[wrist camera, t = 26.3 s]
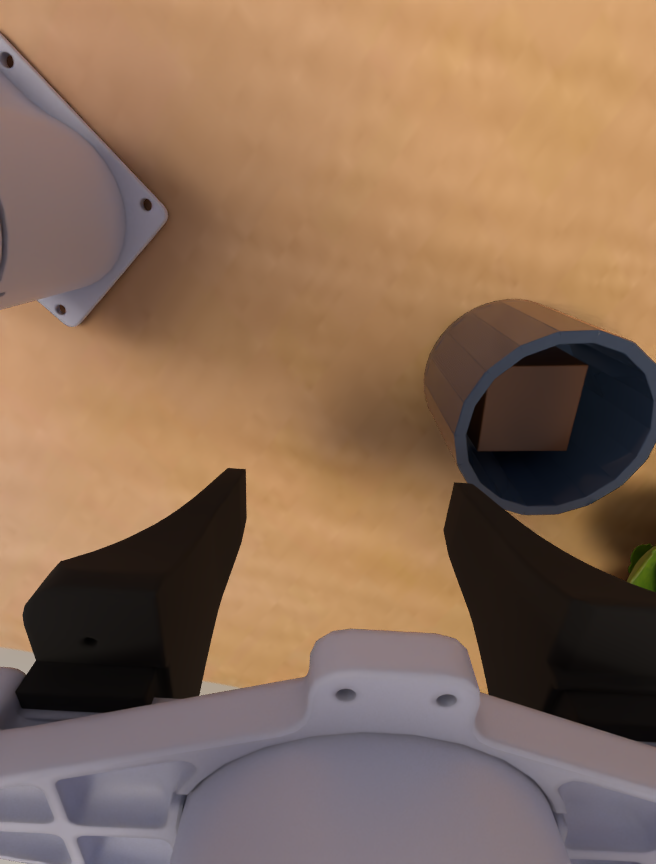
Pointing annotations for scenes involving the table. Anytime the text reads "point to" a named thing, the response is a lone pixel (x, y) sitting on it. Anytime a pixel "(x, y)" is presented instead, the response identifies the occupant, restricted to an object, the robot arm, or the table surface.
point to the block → (530, 404)
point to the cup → (594, 422)
